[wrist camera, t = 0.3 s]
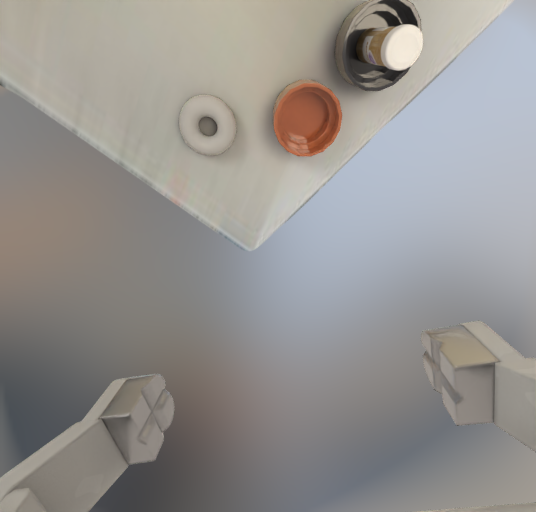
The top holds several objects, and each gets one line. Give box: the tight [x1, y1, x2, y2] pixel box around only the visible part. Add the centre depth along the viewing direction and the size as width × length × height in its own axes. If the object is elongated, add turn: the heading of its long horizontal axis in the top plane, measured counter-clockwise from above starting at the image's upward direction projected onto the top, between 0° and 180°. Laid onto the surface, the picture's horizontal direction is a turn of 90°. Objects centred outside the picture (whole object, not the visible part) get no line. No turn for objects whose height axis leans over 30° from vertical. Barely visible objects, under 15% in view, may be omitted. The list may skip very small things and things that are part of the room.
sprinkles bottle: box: [356, 24, 423, 71], centre depth 40 cm, size 5×5×13 cm
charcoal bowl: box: [335, 0, 421, 91], centre depth 43 cm, size 11×11×6 cm
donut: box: [179, 95, 236, 156], centre depth 50 cm, size 10×4×10 cm
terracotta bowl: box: [273, 80, 342, 156], centre depth 49 cm, size 11×11×6 cm
